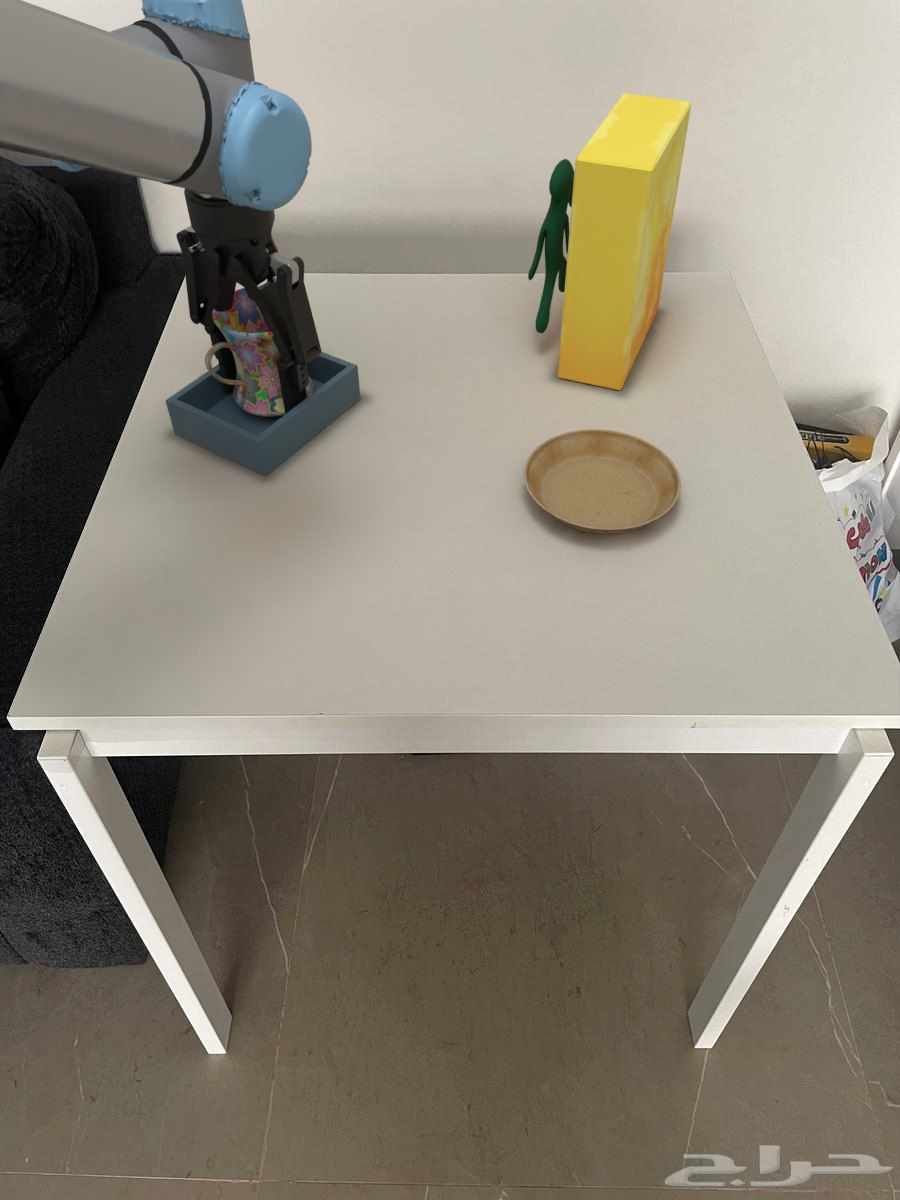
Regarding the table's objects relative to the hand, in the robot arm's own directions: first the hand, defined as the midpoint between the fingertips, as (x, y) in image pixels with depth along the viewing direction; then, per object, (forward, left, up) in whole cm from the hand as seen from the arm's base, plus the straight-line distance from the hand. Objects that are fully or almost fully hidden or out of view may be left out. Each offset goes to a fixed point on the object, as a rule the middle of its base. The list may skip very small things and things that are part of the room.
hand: (266, 399), depth 99 cm
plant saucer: (+35, +7, -2) cm, 36 cm away
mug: (0, 0, -1) cm, 1 cm away
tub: (0, 0, -2) cm, 2 cm away
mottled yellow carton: (+21, +31, -2) cm, 38 cm away
